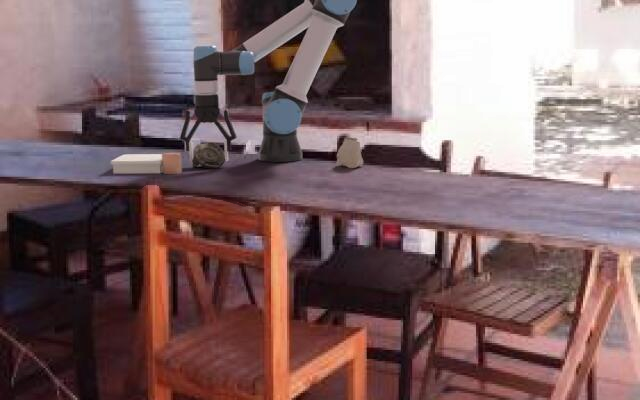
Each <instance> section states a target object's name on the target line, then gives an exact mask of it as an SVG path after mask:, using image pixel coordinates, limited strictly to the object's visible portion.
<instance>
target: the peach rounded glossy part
mask: <svg viewBox="0 0 640 400" xmlns="http://www.w3.org/2000/svg"><path fill="white" fill-rule="evenodd" d="M161 154H162V169H163V172H162V174H165V175H175V174H176V175H177V174H181V173H183V171H182V169H183V168H182V166H183V165H182V153H181V152H164V153H161Z"/></svg>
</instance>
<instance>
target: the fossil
mask: <svg viewBox="0 0 640 400" xmlns="http://www.w3.org/2000/svg"><path fill="white" fill-rule="evenodd" d="M225 162H226V161H225V151H224V150H223V149H222V148H221V147H220V145H219V144H218V143H216V142H214V141H212V142H205V143H202V144H199V143H198V144H197V145H196V146H195V147H194V149H193V161H192V168H197V167H198V166H202V167H203V168H206V169H210V170H215V169H219V168H221V167H222V166H223V165H224V164H225Z"/></svg>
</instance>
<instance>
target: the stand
mask: <svg viewBox="0 0 640 400" xmlns="http://www.w3.org/2000/svg"><path fill="white" fill-rule="evenodd" d="M162 154H163V153H156V154H155V153H152V154H151V153H150V154H149V153H138V154H137V153H136V154H134V153H133V154H132V153H131V154H130V153H129V154H128V153H127V154H125V153H124V154H122V155H120V156H118V157H116V158H114V159H112V160H110V165H112V173H113V174H161V173H163V169H162ZM113 174H112V175H113Z"/></svg>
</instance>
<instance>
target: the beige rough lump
mask: <svg viewBox="0 0 640 400" xmlns="http://www.w3.org/2000/svg"><path fill="white" fill-rule="evenodd" d="M336 159H337V160H336V165H338V166H339V167H344V166H345V167H347V168H349V169H354V168H356V169H357V167H359V168H361V167H362V166H363V164H364V159H363V157H362V152H361V141H360V139H359V138H356V137H345V138H344V140H343V141H342V144H341V145H340V147H339V149H338V151H337V154H336Z"/></svg>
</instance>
